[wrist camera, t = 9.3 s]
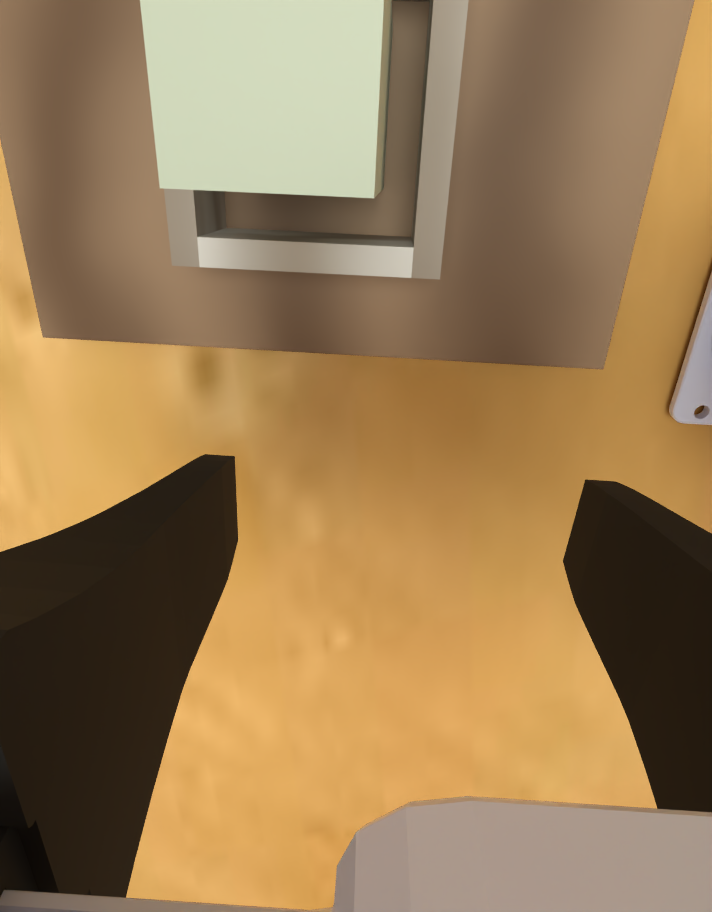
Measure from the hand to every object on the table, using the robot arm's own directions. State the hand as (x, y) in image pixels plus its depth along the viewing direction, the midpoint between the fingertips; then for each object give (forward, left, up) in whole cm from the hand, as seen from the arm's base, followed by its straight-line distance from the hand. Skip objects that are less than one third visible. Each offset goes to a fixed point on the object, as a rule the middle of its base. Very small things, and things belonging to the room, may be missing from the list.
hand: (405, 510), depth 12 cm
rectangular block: (+3, -8, -9) cm, 13 cm away
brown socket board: (+3, -7, -10) cm, 13 cm away
